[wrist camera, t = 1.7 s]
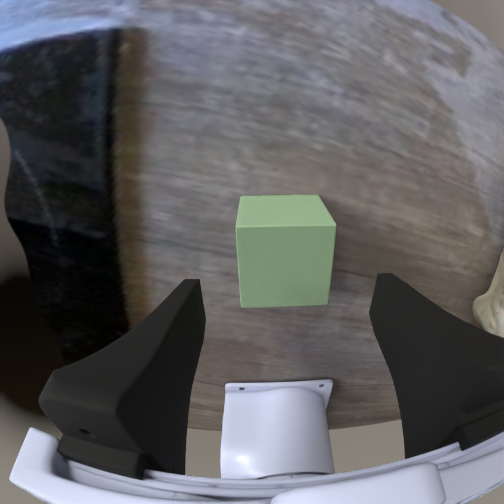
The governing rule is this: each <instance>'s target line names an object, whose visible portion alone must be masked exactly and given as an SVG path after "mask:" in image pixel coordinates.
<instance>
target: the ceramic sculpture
mask: <svg viewBox="0 0 504 504" xmlns="http://www.w3.org/2000/svg"><path fill="white" fill-rule="evenodd" d="M472 311H473V315H474V317H475V319H476V321H478V322H479V323H480V324H481V326H482V328H483V330H484V331H486V332H489V333H491V334H494V335H497V336H500V337H503V338H504V246H503V249H502V252H501V256H500V259H499V262H498V266H497V270H496V272H495V275H494V277H493V280H492V282H491V285H490V288H489V290H488V291H487V292H486V293H485V294H483V295H481V296H478V297H477V298H476V299H475V300H474V302H473V305H472Z"/></svg>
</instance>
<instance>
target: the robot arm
mask: <svg viewBox="0 0 504 504" xmlns="http://www.w3.org/2000/svg"><path fill="white" fill-rule="evenodd" d="M369 314H370V318H371V322H372V326H373V330H374V333H375V336H376V338H377V341H378V343H379V346H380V348H381V350H382V353H383V355H384V358H385V360H386V363H387V365H388V368H389V370H390V373H391V376H392V379H393V382H394V386H395V390H396V394H397V398H398V403H399V409H400V414H401V420H402V427H403V436H404V446H405V459H404V460H400V461H396V462H393V463H388V464H384V465H380V466H376V467H371V468H366V469H361V470H355V471H349V472H343V473H336V474H335V472H334V465H333V457H332V451H331V444H330V437H329V432H328V425H327V418H326V412H325V411H326V408H327V405H328V401H329V398H330V394H331V391H332V387H333V381H332V380H331V379H324V380H311V381H295V382H271V383H227V384H226V385H225V391H226V396H225V407H224V416H223V429H222V441H221V477H222V478H208V477H197V476H187V475H185V454H186V436H187V424H188V413H189V404H190V395H191V389H192V384H193V380H194V376H195V372H196V368H197V364H198V360H199V356H200V352H201V348H202V344H203V339H204V331H205V322H206V317H205V311H204V305H203V299H202V292H201V286H200V280H199V279H184V280H183V281H182V282H181V283H180V284H179V285H178V286H177V288H176V289H175V290H174V291H173V292H172V293H171V294H170V295H169V296H168V297H167V298H166V299H165V300H164V301H163V302H162V303H161V304H160V305H159V306H158V307H157V308H156V309H155V310H154V311H153V312H152V313H151V314H149V315H148V316H147V317H146V318H145V319H144V320H143V321H142V322H141V323H139V324H138V325H137V326H136V327H134V328H133V329H132V330H130V331H129V332H128V333H126V334H125V335H124V336H122V337H121V338H119V339H118V340H116V341H115V342H113V343H111V344H110V345H108V346H107V347H105V348H103V349H102V350H100V351H98V352H96V353H94V354H92V355H90V356H88V357H86V358H84V359H82V360H80V361H78V362H75V363H73V364H70V365H67V366H65V367H62V368H60V369H57V370H54V371H53V372H52V374H51V376H50V378H49V380H48V382H47V383H46V385H45V387H44V389H43V391H42V393H41V395H40V397H39V404H40V407H41V409H42V410H43V412H44V413H45V414H46V416H47V417H48V418H49V419H50V420H51V421H52V422H53V423H54V424H55V425H56V427H57V428H58V429H59V430H60V431H61V432H62V433H63V436H62V438H61V440H59V439H58V438H56V437H54V436H52V435H50V434H47V433H45V432H42V431H40V430H37V429H35V428H30V429H29V431H28V433H27V436H26V438H25V440H24V443H23V445H22V448H21V450H20V452H19V455H18V457H17V459H16V462H15V465H14V467H13V470H12V472H11V475H10V478H9V479H10V481H11V482H13V483H14V484H15V485H17V486H19V487H20V488H22V489H23V490H25V491H26V492H28V493H30V494H31V495H33V496H35V497H37V498H38V499H40V500H42V501H43V502H46V503H47V504H468V503H470V502H471V501H473V500H475V499H477V498H479V497H480V496H483V495H484V494H486V493H488V492H490V491H491V490H493V489H495V488H496V487H498V486H500V485H501V484H503V483H504V338H503V337H500V336H497V335H494V334H491V333H489V332H486V331H484V330H482V329H479V328H477V327H475V326H473V325H471V324H469V323H467V322H465V321H463V320H461V319H459V318H457V317H456V316H454V315H452V314H450V313H449V312H447V311H445V310H444V309H442V308H441V307H439V306H438V305H436V304H435V303H433V302H432V301H430V300H429V299H427V298H426V297H425V296H423V295H422V294H420V293H419V292H418V291H416V290H415V289H414V288H412V287H411V286H409V285H408V284H407V283H405V282H404V281H402V280H401V279H400V278H398V277H397V276H395V275H393V274H392V273H383V274H378V276H377V280H376V285H375V290H374V294H373V298H372V303H371V307H370V311H369Z"/></svg>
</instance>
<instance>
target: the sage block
mask: <svg viewBox="0 0 504 504" xmlns="http://www.w3.org/2000/svg"><path fill="white" fill-rule="evenodd" d="M336 227H337V225H336V223H335V222H334V220H333V218H332V217H331V215H330V213H329V212H328V210H327V208H326V207H325V205H324V204H323V202H322V200H321V199H320V197H319V196H318V195H266V196H241V198H240V204H239V209H238V215H237V221H236V227H235V228H236V243H237V258H238V273H239V287H240V301H241V308H257V307H292V306H316V305H328V300H329V292H330V284H331V276H332V267H333V258H334V249H335V238H336Z"/></svg>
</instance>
